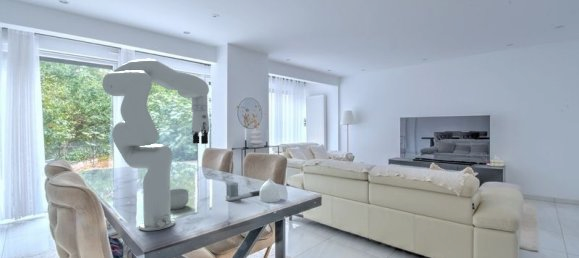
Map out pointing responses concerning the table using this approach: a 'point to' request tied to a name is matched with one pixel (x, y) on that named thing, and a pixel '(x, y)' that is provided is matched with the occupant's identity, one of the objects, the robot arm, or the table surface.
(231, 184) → the socket
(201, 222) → the table surface
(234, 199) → the ratchet
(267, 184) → the teardrop
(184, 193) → the teacup
